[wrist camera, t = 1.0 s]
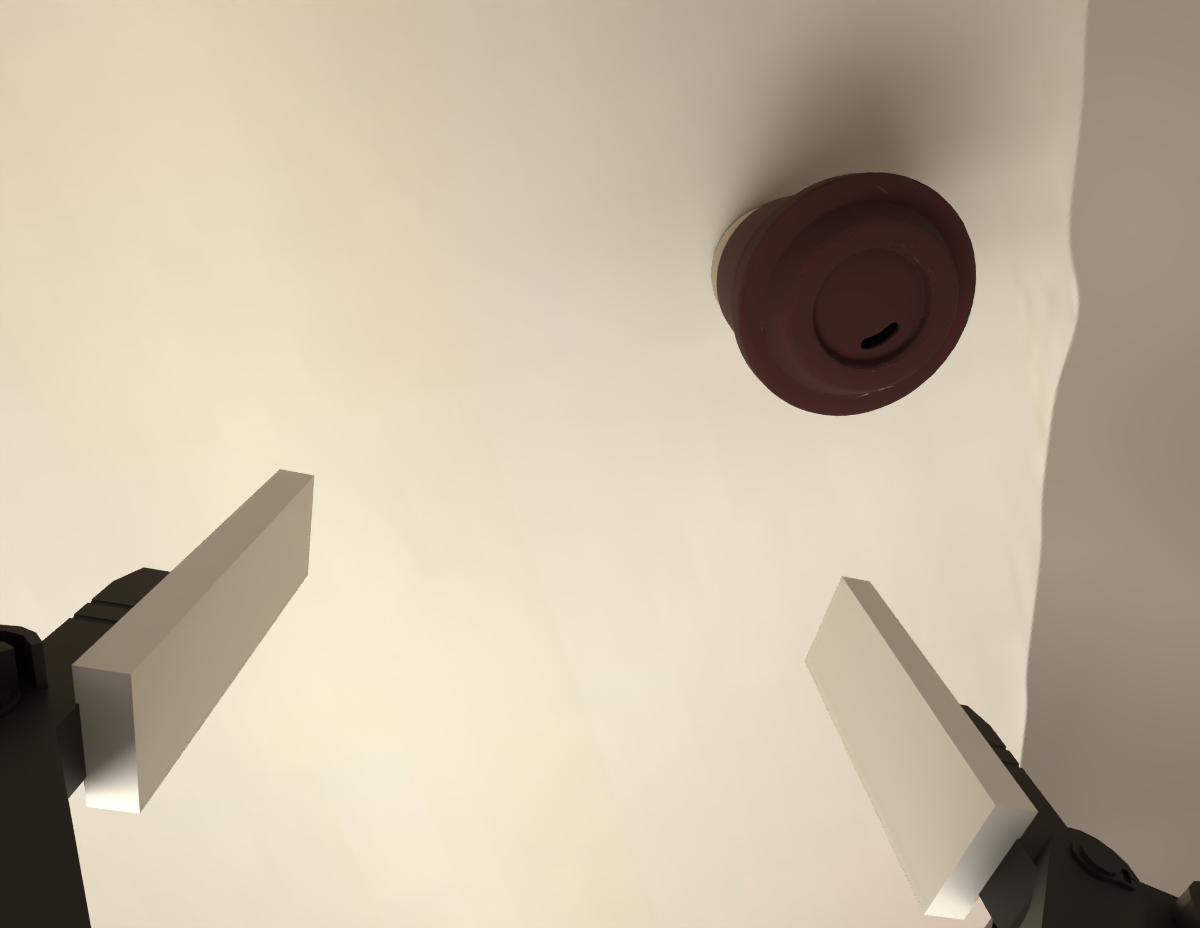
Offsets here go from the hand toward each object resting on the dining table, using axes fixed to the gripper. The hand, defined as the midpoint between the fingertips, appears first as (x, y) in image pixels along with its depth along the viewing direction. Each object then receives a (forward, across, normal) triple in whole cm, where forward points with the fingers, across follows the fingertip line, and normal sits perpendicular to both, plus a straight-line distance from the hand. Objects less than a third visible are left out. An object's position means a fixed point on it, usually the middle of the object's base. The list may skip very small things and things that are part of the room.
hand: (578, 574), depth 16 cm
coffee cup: (+27, +10, +7) cm, 30 cm away
